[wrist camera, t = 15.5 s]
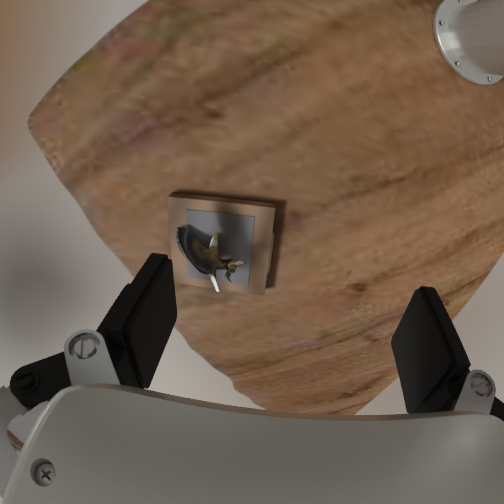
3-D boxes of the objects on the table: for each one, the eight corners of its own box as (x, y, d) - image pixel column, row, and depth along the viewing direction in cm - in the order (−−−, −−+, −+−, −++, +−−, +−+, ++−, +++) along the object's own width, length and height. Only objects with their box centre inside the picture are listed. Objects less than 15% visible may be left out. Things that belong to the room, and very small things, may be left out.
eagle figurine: (251, 233, 39) (183, 208, 36) (240, 286, 36) (166, 262, 33) (231, 251, 46) (173, 231, 43) (220, 297, 43) (158, 278, 40)
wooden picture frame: (278, 203, 39) (277, 208, 38) (267, 289, 47) (266, 295, 45) (171, 192, 40) (167, 197, 39) (176, 276, 48) (173, 282, 46)
